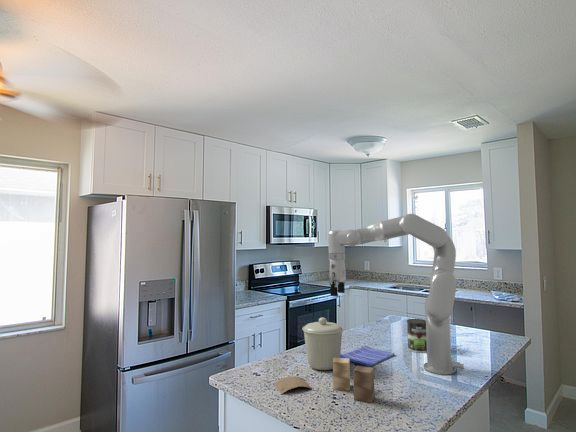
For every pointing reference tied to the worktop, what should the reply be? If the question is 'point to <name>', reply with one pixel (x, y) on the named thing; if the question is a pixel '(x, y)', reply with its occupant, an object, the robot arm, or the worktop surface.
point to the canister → (322, 343)
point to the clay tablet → (290, 383)
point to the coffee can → (417, 335)
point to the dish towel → (367, 356)
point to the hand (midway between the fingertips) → (337, 294)
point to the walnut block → (363, 383)
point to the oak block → (341, 374)
